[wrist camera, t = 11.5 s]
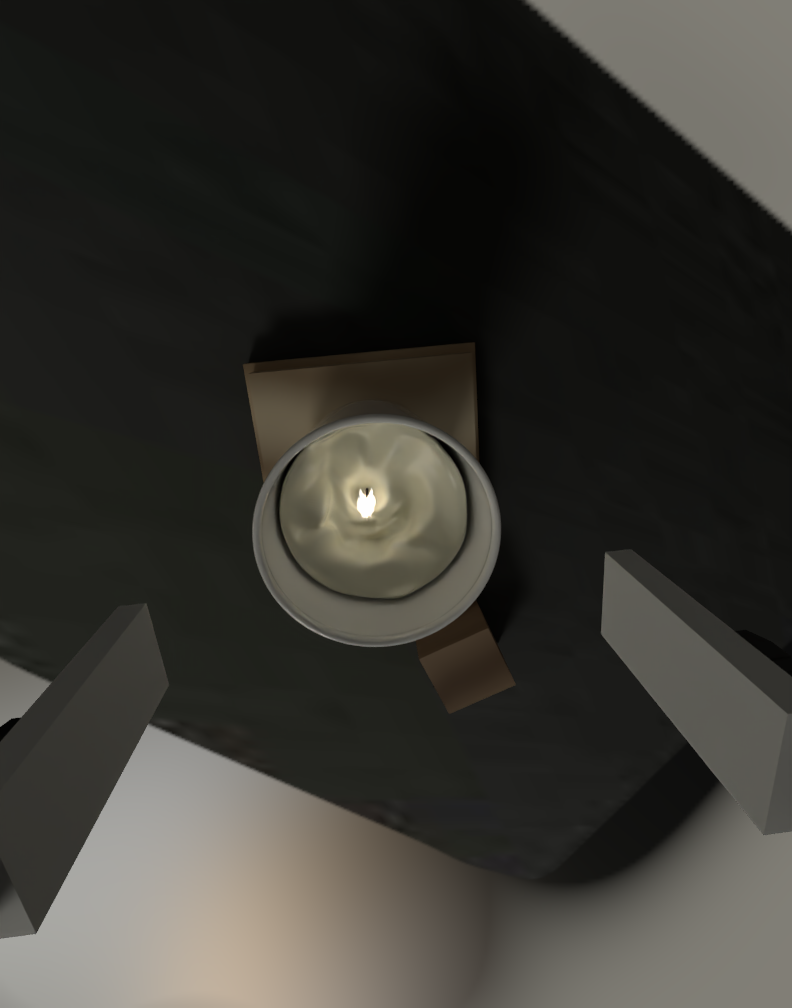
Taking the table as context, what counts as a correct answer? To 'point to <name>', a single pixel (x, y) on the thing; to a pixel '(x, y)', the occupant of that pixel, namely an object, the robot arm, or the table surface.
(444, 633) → the walnut block
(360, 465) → the candle holder
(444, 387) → the stand
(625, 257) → the table surface
